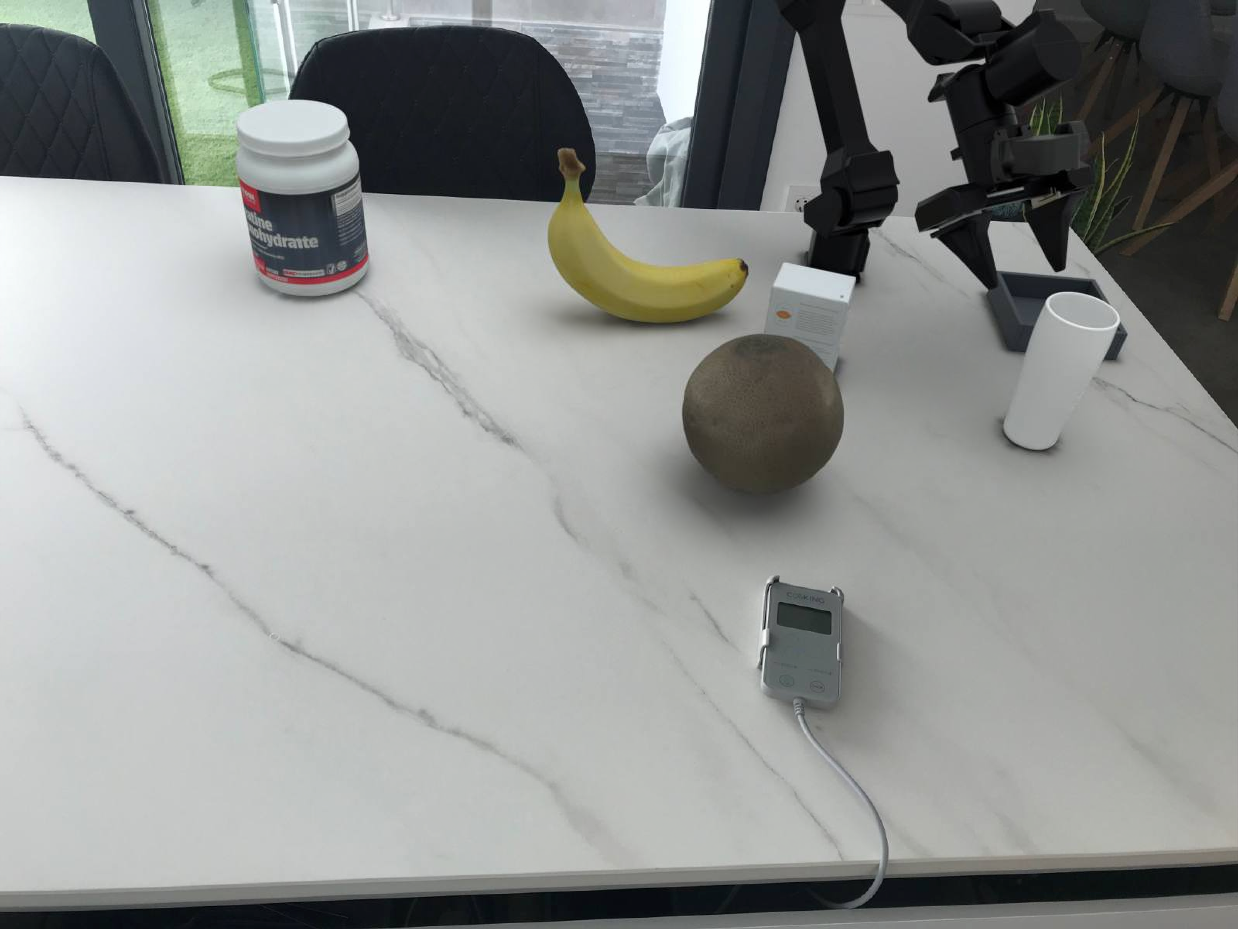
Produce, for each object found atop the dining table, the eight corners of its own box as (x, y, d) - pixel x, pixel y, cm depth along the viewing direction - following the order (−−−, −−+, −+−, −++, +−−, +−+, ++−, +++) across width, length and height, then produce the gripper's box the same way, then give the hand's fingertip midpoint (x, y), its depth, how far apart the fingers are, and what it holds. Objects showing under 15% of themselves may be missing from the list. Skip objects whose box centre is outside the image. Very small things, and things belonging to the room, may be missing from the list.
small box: (837, 360, 108) (858, 276, 101) (828, 388, 104) (850, 302, 97) (766, 343, 110) (783, 259, 103) (755, 369, 106) (771, 284, 99)
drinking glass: (1053, 419, 102) (1109, 294, 92) (1069, 460, 97) (1131, 333, 87) (988, 412, 102) (1037, 287, 93) (1001, 453, 97) (1054, 325, 88)
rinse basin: (1009, 350, 112) (1019, 324, 110) (986, 294, 121) (994, 270, 119) (1115, 359, 112) (1128, 334, 109) (1084, 303, 121) (1095, 279, 119)
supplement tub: (236, 291, 111) (202, 132, 99) (289, 239, 120) (264, 89, 108) (343, 310, 109) (321, 152, 97) (388, 256, 119) (373, 106, 107)
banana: (735, 302, 116) (762, 138, 103) (746, 329, 112) (775, 161, 98) (544, 304, 113) (547, 135, 100) (548, 332, 108) (551, 160, 95)
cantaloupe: (697, 419, 98) (717, 289, 88) (836, 456, 95) (872, 326, 85) (654, 508, 88) (670, 372, 78) (808, 553, 85) (845, 417, 75)
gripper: (973, 103, 85) (1021, 276, 86) (1119, 79, 93) (1163, 239, 93) (892, 152, 95) (935, 306, 96) (1029, 127, 103) (1068, 270, 103)
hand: (1027, 279), depth 97 cm, fingers open, 9 cm apart
